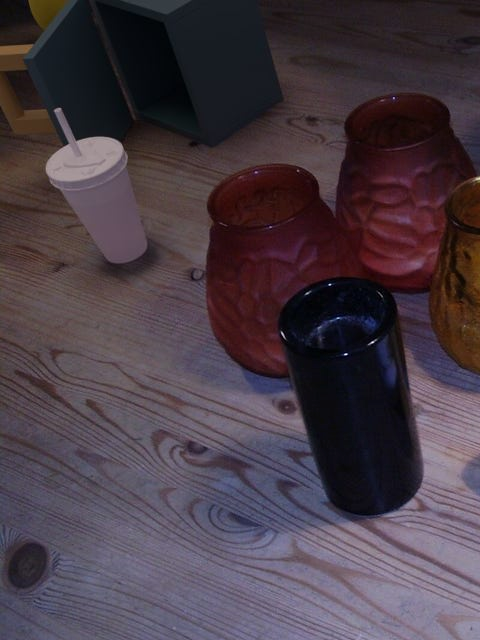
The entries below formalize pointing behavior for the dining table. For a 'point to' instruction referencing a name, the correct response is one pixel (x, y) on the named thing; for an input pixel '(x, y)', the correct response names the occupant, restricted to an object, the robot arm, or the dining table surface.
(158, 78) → the cupboard
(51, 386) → the dining table surface
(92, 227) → the smoothie
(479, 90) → the dining table surface
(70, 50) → the cupboard door
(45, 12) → the lemon
